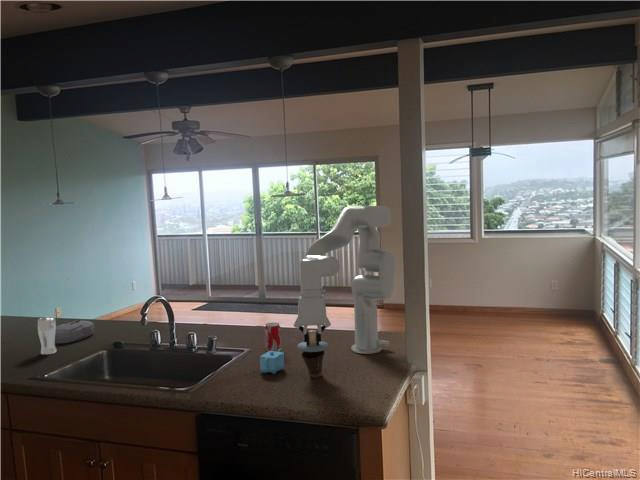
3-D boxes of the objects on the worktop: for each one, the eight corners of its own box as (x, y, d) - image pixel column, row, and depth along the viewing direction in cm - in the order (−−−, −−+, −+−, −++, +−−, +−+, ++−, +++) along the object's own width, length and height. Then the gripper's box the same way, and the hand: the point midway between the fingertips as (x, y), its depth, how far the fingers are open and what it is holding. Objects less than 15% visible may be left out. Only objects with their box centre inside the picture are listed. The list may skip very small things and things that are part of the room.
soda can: (279, 355, 205) (278, 326, 204) (262, 354, 207) (261, 326, 206) (283, 350, 212) (282, 322, 211) (267, 349, 214) (266, 321, 213)
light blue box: (274, 364, 194) (273, 345, 194) (288, 366, 192) (287, 347, 191) (258, 374, 183) (257, 354, 183) (272, 376, 181) (272, 356, 180)
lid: (325, 341, 185) (324, 326, 185) (331, 350, 174) (330, 334, 174) (295, 344, 183) (295, 328, 183) (299, 353, 172) (299, 336, 172)
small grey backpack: (74, 332, 250) (42, 344, 231) (72, 316, 250) (41, 326, 230) (99, 334, 246) (69, 346, 227) (98, 317, 246) (68, 327, 226)
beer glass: (61, 351, 219) (59, 317, 217) (46, 356, 212) (44, 321, 211) (50, 349, 221) (48, 316, 220) (35, 354, 215) (33, 319, 214)
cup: (298, 379, 177) (297, 354, 176) (307, 371, 185) (306, 347, 184) (320, 382, 174) (319, 356, 173) (328, 374, 182) (327, 349, 181)
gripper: (334, 290, 181) (335, 340, 182) (288, 291, 181) (290, 341, 182) (335, 294, 173) (336, 346, 175) (287, 296, 173) (289, 347, 175)
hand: (312, 343), depth 179 cm, fingers closed on lid, 3 cm apart
